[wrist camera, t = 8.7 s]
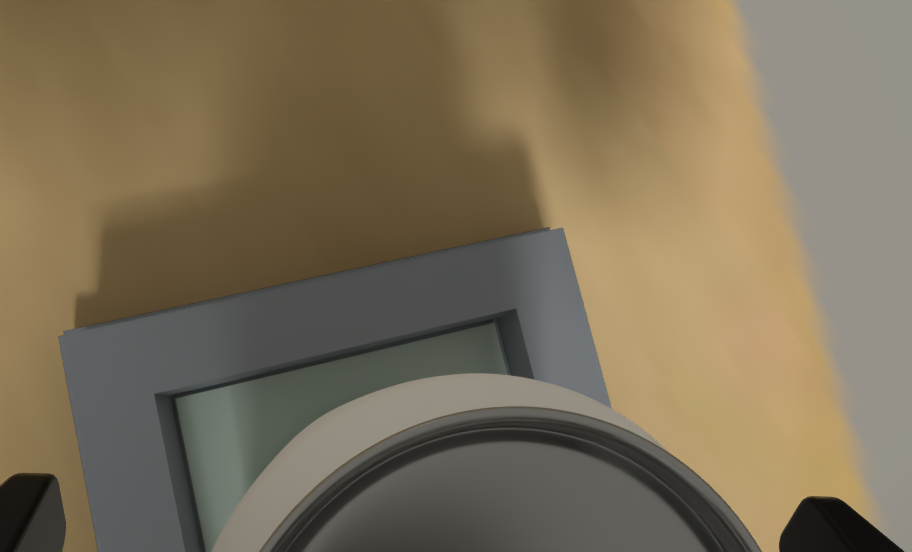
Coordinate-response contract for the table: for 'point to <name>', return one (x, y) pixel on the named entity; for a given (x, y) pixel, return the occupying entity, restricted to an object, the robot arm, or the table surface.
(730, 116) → the table surface
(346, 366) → the holder
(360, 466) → the can
